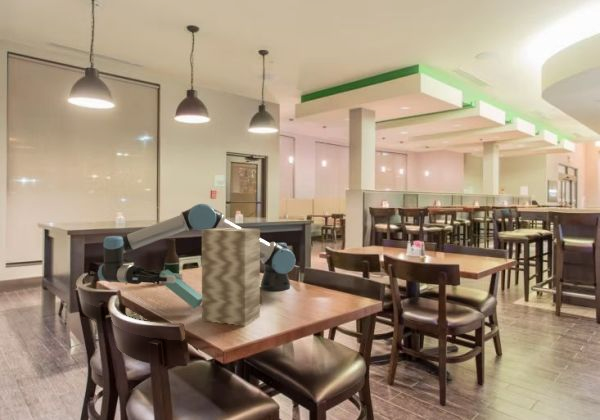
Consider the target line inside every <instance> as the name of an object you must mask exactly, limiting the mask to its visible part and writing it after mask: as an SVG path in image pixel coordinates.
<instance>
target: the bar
mask: <svg viewBox="0 0 600 420" xmlns="http://www.w3.org/2000/svg"><path fill="white" fill-rule="evenodd" d="M160 271H161V273H160V275H166V276H175V283H164V282H160V283H162V285H164V286H165V287H166V288H168V289H169V290H171V291H172V293H174V294H175V295H176V296H178V297H179V298H180V299H182V300H183V301H184V302H185V303H186V304H188V305H189V306H190V307H192V308H193V309H196V308H198V307H200V306H201V305H202V294H201V293H199V292H198V291H196V290H195V289H194V288H192V287H191V286H190V285H189V284H187V283H186V282H185V281H183V279H182V280H181V279H180V278H178V277H177V276H176V275H174V274H173V273H172V272H171V271H169V270H165V269H164V270H160ZM160 275H159V276H160Z"/></svg>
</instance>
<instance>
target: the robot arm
mask: <svg viewBox="0 0 600 420" xmlns="http://www.w3.org/2000/svg"><path fill="white" fill-rule="evenodd" d="M213 228H242V227H241V226H240V225H237V224H235V223H233V222H232V221H230V220H228V219H227V218H225V214H224V213H222V212H220V211H219V210H217V209H215V208H213V207H212V206H211V205H209V204H207V203H198V204H196V205H193V206H192V207H191V208H188V209H187V210H185V211H181V213H180V214H179V215H176V216H174V217H172V218H171V217H170V218H168V219H166V220H163V221H160V222H157V223H155V224H152V225H150V226H146V227H144V228H140V229H139V230H136V231H133V232H130V233H127V234H126V235H123V236H121V235H112V236H111V235H110V236H105V237H104V238H103V245H102V246H103V264H101V265H100V266H99V267H98V270H97V276H98V278H99V280H101V281H103V282H109V283H121V284H125V285H128V284H130V285H140V284H141V283H148V284H149V283H150V284H155V283H156V285H160V283H161V282H164V283H175V276H166V275H160V273H161V271H162V270H158V269H154V270H148V269H147V270H145V269H144V267H142V266H140V265H132V264H131V265H130V264H124V254H125V253H129V252H131V251H134V250H136V249H138V248H141V247H144V246H146V245H149V244H152V243H155V242H157V241H159V240H163V239H165V238H168V237H171V236H173V235H177V234H178V233H181V232H184V231H188V232H189V231H193V230H196V231H199V232H202V230H205V229H213ZM296 261H297V260H296V256H295V254H294V252H293V251H292V250H291V249H290V248H288V244H287V243H286V242H275V241H271V242H269V241H267V240H265V239H263V238H262V237H260V263H261V264H263V267H264V268H263V276H262V278H261V280H260V289H261V290H265V291H270V292H271V291H277V292H279V291H286V290H290V288H291V282H290V278H289V275H288V273H289V272H291V271H293V269H294V268H295V265H296ZM173 274H174V275H176V276H177V277H178V278H180V279H181V280H182V281H183V274H182V273H179V274H175V273H173ZM159 275H160V276H159Z"/></svg>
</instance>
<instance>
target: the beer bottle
mask: <svg viewBox="0 0 600 420" xmlns="http://www.w3.org/2000/svg"><path fill="white" fill-rule="evenodd" d="M167 241H168V251H167V254H166V256H165V259H164V270H169V271H171V272H172V273H175V274H180V258H179V255H178V254H177V250H176V238H174V237H173V238H172V237H171V238H168V240H167Z"/></svg>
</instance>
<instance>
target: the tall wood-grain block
mask: <svg viewBox="0 0 600 420" xmlns="http://www.w3.org/2000/svg"><path fill="white" fill-rule="evenodd" d="M260 238H261V229H260V228H243V227H241V228H213V229H205V230H202V231H201V295H202V303H201V321H202V320H203V321H202V322H207V321H211V322H210V323H215V322H218V323H217V324H223V323H228V324H227V325H231V324H235V325H234V326H239V325H242V326H241V327H246V326H247V325H249V324H251V323H253V322H255V321H256V320H258V318H260V317H261V315H260V314H261V313H260V312H261V304H260V295H261V293H260V292H261V290H260V289H261V279H260V278H261V274H260V273H261V270H260V269H261V259H260ZM255 319H256V320H255ZM252 321H253V322H252Z"/></svg>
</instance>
